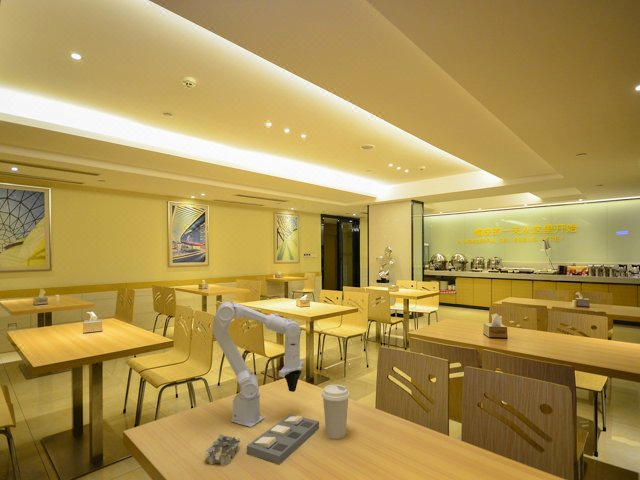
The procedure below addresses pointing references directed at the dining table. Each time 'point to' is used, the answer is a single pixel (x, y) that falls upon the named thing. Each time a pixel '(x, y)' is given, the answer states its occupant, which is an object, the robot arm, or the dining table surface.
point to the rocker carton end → (265, 442)
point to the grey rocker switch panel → (284, 440)
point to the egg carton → (226, 444)
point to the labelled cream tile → (293, 420)
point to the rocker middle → (280, 430)
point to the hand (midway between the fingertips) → (292, 390)
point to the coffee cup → (335, 410)
